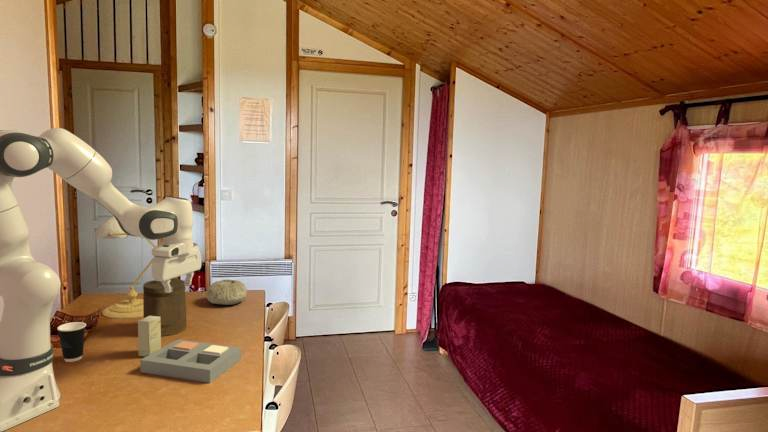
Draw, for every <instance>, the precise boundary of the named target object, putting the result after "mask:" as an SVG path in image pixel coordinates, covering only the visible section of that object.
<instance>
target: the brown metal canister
mask: <svg viewBox="0 0 768 432" xmlns="http://www.w3.org/2000/svg"><path fill="white" fill-rule="evenodd" d="M169 284H170V286H171V287H172V292H170V293H165V287H164V286H163V284H162V281H154V279H152V280H149V281H146V282H144V283H143V286H142V288H143V295H142V296H143V297H142V299H143V314H144V316H143V318H146V317H148V316H159V317H160V319H161V337H164V336H165V337H166V336H171V335H176V334H178V333H181V332H183V331H185V330H186V329H187V303H186V300H187V299H186V298H187V297H186V286H184V280H183V279H178V278H172V279H170V282H169Z"/></svg>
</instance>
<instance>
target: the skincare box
mask: <svg viewBox="0 0 768 432" xmlns="http://www.w3.org/2000/svg"><path fill="white" fill-rule="evenodd" d="M137 341H138V343H137V344H138V345H137V346H138V357H143V358H144V357H146V356H148V355H150V354H152V353H154V352H155V351H157V350H159V349H161V348H162V336H161V319H160V317H159V316H148V317H146V318H144V317H143V318H141V319H139V320H137Z"/></svg>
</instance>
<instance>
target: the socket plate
mask: <svg viewBox="0 0 768 432" xmlns="http://www.w3.org/2000/svg"><path fill="white" fill-rule="evenodd" d="M241 360H242V347H241V346H234V345H233V346H231V345H224V344H218V343H217V344H216V343H209V342H202V341H195V340H187V339H180V338H178V339H175V340H173V341H172V342H169V343H168V344H166V345H165V346H162V347H161V349H159V350H157V351H155V352H154V353H152V354H150V355H148V356H146V357H143V358H141V359H139V362H140V364H139V366H140V369H139V370H140V373H144V374H149V375H157V376H163V377H169V378H175V379H180V380H181V379H182V380H188V381H196V382H202V383H207V384H211V383H212V382H213V381H215V380H216V379H217V378H219V377H220V376H221V375H223V374H224V373H225V372H226V371H228V370H230V368H232V367H233V366H235V364H237V363H239V361H241Z"/></svg>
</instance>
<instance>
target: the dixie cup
mask: <svg viewBox="0 0 768 432" xmlns="http://www.w3.org/2000/svg"><path fill="white" fill-rule="evenodd" d="M86 327H87V323H85V322H81V321H74V322H67V323H63V324H60V325H59V326H58V327H57V328H56V330H57V331H58V336H59V341H60V346H61V352H62V358H63V359H64V361H65V363H67V362H68V363H69V362H71V363H72V362H76V361H77V362H78V361H80V360H81V359H82V358H83V354H84V349H85V348H84V346H85V335H86Z"/></svg>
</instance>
